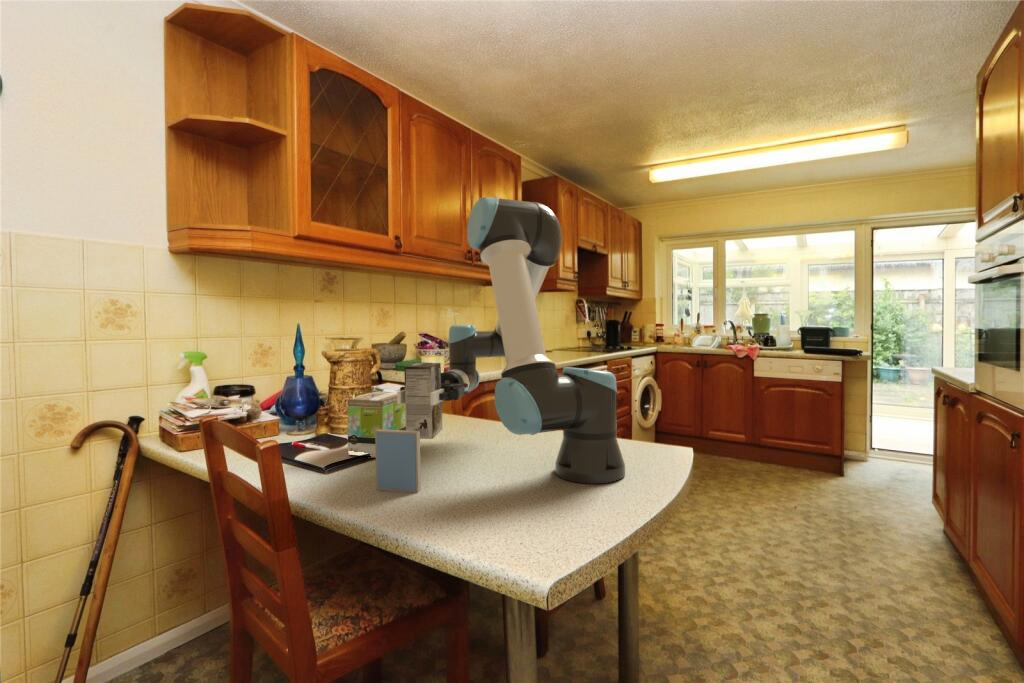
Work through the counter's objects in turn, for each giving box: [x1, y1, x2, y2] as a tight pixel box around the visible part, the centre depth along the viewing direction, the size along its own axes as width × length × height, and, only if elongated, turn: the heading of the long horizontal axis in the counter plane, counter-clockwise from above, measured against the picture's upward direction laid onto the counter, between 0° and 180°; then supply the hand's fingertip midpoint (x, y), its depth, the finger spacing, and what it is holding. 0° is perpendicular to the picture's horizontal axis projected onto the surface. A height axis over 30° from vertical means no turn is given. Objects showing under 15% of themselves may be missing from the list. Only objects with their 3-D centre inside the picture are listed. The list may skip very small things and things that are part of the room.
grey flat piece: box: [375, 429, 422, 494], centre depth 97 cm, size 9×2×12 cm, turn 77°
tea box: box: [347, 391, 406, 458], centre depth 129 cm, size 15×10×15 cm, turn 168°
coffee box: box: [403, 362, 444, 440], centre depth 111 cm, size 9×6×16 cm
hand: (415, 398), depth 106 cm, fingers closed on coffee box, 7 cm apart
